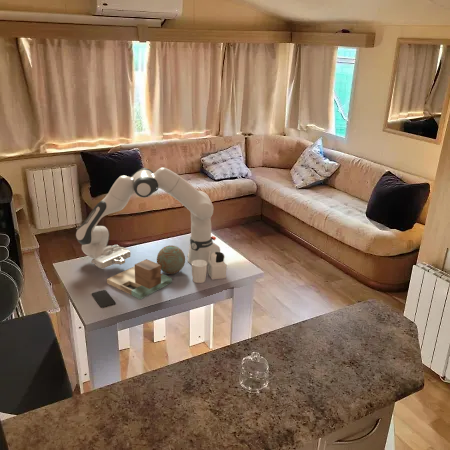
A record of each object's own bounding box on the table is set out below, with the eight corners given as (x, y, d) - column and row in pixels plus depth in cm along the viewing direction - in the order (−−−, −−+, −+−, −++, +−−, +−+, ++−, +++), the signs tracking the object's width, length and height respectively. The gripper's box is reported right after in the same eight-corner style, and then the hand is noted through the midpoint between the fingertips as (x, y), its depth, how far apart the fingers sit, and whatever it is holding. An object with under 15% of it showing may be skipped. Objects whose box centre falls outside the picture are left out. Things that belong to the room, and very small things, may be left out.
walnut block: (146, 276, 238) (146, 259, 235) (161, 282, 233) (160, 265, 229) (135, 282, 232) (134, 264, 229) (149, 288, 227) (149, 270, 223)
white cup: (203, 285, 238) (203, 267, 234) (189, 282, 240) (189, 264, 236) (208, 278, 245) (209, 261, 241) (195, 275, 247) (195, 258, 243)
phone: (105, 289, 229) (116, 303, 218) (105, 290, 229) (116, 304, 218) (90, 293, 225) (101, 307, 214) (90, 294, 226) (101, 308, 214)
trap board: (139, 268, 252) (139, 264, 251) (171, 282, 239) (171, 278, 238) (107, 283, 236) (106, 278, 235) (140, 299, 223) (140, 294, 222)
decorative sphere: (171, 281, 240) (171, 255, 234) (151, 272, 248) (150, 247, 242) (190, 271, 251) (191, 246, 245) (170, 263, 259) (170, 238, 254)
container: (221, 271, 252) (222, 249, 247) (226, 278, 246) (227, 256, 241) (207, 273, 250) (208, 251, 245) (212, 280, 243) (212, 257, 238)
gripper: (89, 255, 239) (106, 263, 231) (119, 243, 254) (137, 250, 247) (89, 266, 241) (107, 274, 234) (120, 254, 257) (137, 261, 249)
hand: (123, 262), depth 240 cm, fingers closed
